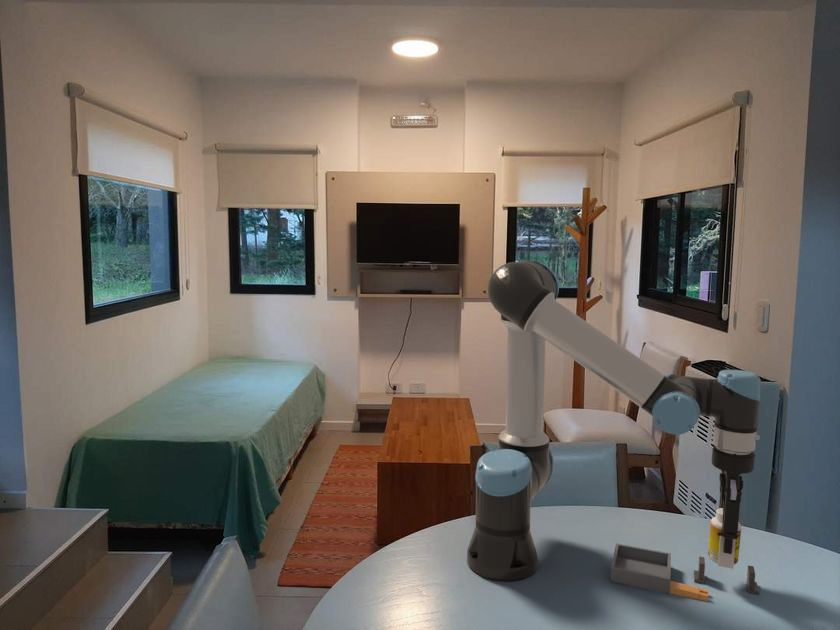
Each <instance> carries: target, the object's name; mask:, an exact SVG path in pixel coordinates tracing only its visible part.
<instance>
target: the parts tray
mask: <svg viewBox="0 0 840 630" xmlns="http://www.w3.org/2000/svg"><path fill="white" fill-rule="evenodd" d="M671 560H672V553H671V552H665V551H660V550H653V549H650V548H649V549H648V548H643V547H639V546H638V547H637V546H633V545H627V544H622V543H615V547H614V551H613V556H612V561H611V567H610V577H609V578H610V580H609V581H610V583H615V584H620V585H623V586H629V587H632V588H633V587H634V588H639V589H643V590H648V591H652V592H653V591H654V592H659V593H663V594H666V595H667V594H668V595H670V594H671V593H670V581H671V570H672V569H671V567H672V566H671V565H672V563H671V562H672V561H671Z"/></svg>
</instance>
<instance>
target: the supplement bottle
mask: <svg viewBox="0 0 840 630" xmlns="http://www.w3.org/2000/svg"><path fill="white" fill-rule="evenodd" d="M718 508H719V507H718ZM718 508H717V509H716V511H715V516H713V517H712V518H711V520H710V527H709V529H710V530H709V537H708V538H709V539H708V546H707V547H708V551H707V556H708V558H709V559H710V560H711V561H712V562H714V563H716V564H718V557H719V545H720V536H718V534H717V533H718V532H722V519H723V508H719V509H718ZM737 535H738V538H737V540H736V544H735V556H734V566H736V565H737V564H738V562H739V555H740V546H741V536H742V524H741V523H740V522H738V534H737Z"/></svg>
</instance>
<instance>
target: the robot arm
mask: <svg viewBox="0 0 840 630" xmlns="http://www.w3.org/2000/svg"><path fill="white" fill-rule="evenodd" d="M559 290H560V285H559V280H558V277H557V275H556V272H555V271H553V269H552V268H550V267H549V266H548V265H547V264H545V263H542V262H539V261H537V260H536V261H535V260H522V261H521V260H520V261H513V262H506V263H504V264H503V265H500V266H499V267H498V268H496V269H495V271H494V272H493V273H492V274H491V276H490V279H489V281H488V285H487V293H488V294H487V295H488V298H489V301H490V304H492V306H493V308H494V309H495V310H496V311H497V312H498V313H499V314H500V322H502V323H503V324H504V325H505V326H506V328H507V334H506V335H507V338H506V339H507V340H506V341H507V342H506V345H507V346H506V348H507V349H506V383H505V384H506V389H505V391H506V392H505V393H506V394H505V396H506V397H505V428H504V430H503V431H501V432H500V433H499V434H498V449H495V450H494V451H493V450H492V451H491V450H490V451H488V452H486V453H484V454H483V455H482V456H481V457H479V459H478V461H477V463H476V470H475V479H474V480H475V527H474V530H473V533H472V535H471V539H470V541H469V543H468V546H467V549H466V563H467V565H468V567H469V569H471V571H473V572H474V573H476V574H477V575H479V576H481V577H483V578H487V579H489V580H494V581H502V582H503V581H504V582H509V581H511V582H513V581H519V580H522V579H526V578H528V577H530V576H531V575H533V574H534V573H535V572H536V571H537V569H538V552H537V547H536V546H535V545H536V544H535V542H534V539H533V536H532V532H531V506H532V505H531V503H532V501H533V499H534V498H535V497H536V496H537V494H538V493H539V492H540V491H541V490H542V489H543V487H544V486H546V484H547V483H548V482H549V480H550V478H551V476H552V473H553V471H554V466H555V464H554V463H555V462H554V460H555V459H554V456H553V452H552V451H551V449H550V437H549V436H548V434H547V433H545V432H544V408H545V405H544V402H545V401H544V400H545V374H546V372H545V370H546V367H545V366H546V341H547V342H548V343H549V344H551V345H552V346H554V347H555V348H557V349H558V350H559V351H561V352H562V353H564V354H565V355H566V356H568V357H569V358H570V359H572V360H573V361H575V362H576V363H578V364H579V365H581V366H582V367H583V368H585V369H586V370H587V371H589V372H591V373H592V374H593V375H594V376H596V377H597V378H599V379H600V380H602V382H604V383H606V384H607V385H609V387H611V388H613V389H614V390H615V391H617V392H618V393H619V394H621V395H623V396H624V397H626V398H627V399H628V400H630V401H631V402H632V403H634V404H635V405H636V406H638V407H640V408H641V409H642V410H643V411H645V412H646V413H647V414H649V415H650V416H652V418H653V421H654V423H655V425H656V426H657V427H658V428H659V429H660V430H661V431H662V432H665V433H667V434H670V435H677V436H678V435H684V434H686V433H688V432H690V431H691V430H692V429H694V427H695V425H697V423H698V422H699V419H700V417H701V416H704V417H709V418H711V417H713V418H714V425H713V434H712V444H713V445H714V446H713V447H712V450H711V451H712V452H711V464H712V466H713V467H715V468H716V469H718V470H720V471H721V472H719V476H718V477H719V501H718V503H719V504H718V508H717V509H719V508H723V519H722V532H718V533H717V534H718V536H720V545H719V557H718V563H717V566H718V567H722V568H726V569H730V570H734V566H735V565H734V556H735V544H736V540H737V538H738V535H737V534H738V522H739V518H740V509H741V508H740V507H741V501H742V495H743V492H742V490H743V488H744V480H743V476H742V475H743V474H745V475H746V474H750V473H752V472H753V471H754V470H755V460H756V454H755V453H754V452H755V450H756V446H757V445H756V444H757V442H756V441H759V440H761V436H760V435H759V434H758V433H757V432H758V423H759V416H760V415H759V413H760V404H761V386H762V385H761V382H762V381H761V378H760V377H759V376H758V374H756V373H754V372H751V371H746V370H739V369H723V370H720V371H719V372H718V376H717V377H716V378H713V379H712V378H705V377H704V378H703V377H694V376H686V375H685V376H684V375H679V374H678V375H677V374H674V373H671V374H669V373H668V374H665V373H662V372H660V371H659V370H657V369H656V368H655V367H653V366H652V365H651V364H648V363H647V362H646V361H644V360H643V359H641V358H640V357H638V356H637V355H635V354H634V353H632V352H631V351H629V350H628V349H627V348H625V347H624V346H622V344H620V343H619V342H616V341H615V340H613V339H612V338H611V337H609V336H608V335H607V334H605V333H603V332H602V331H601V330H599V328H596V327H595V326H593V325H592V324H590V323H589V322H587V320H585V319H583V318H582V317H580V316H579V315H577V314H576V313H575V312H573V311H572V310H570V309H569V308H567V307H566V306H565V305H562V304H561V303H560V302H559V301H557V297H558V296H559V295H558V294H559V292H560V291H559ZM739 523H740V522H739Z"/></svg>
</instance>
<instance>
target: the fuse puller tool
mask: <svg viewBox="0 0 840 630" xmlns="http://www.w3.org/2000/svg"><path fill="white" fill-rule="evenodd" d="M670 594H672V595H675V596H676V595H677V596H681V597H687V598H691V599H695V600H701V601H706V602H708V601H709V590H708V589H704V588H700V587H697V586H694V585H688V584H684V583H680V582H676V581H673V580H670Z"/></svg>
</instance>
